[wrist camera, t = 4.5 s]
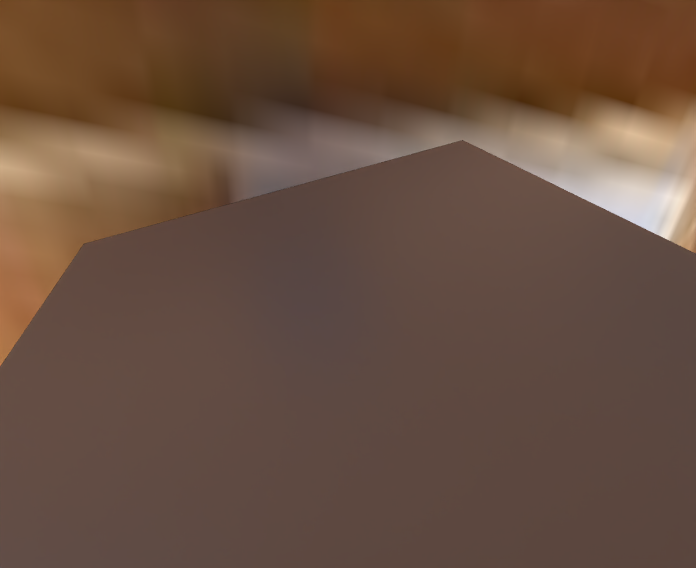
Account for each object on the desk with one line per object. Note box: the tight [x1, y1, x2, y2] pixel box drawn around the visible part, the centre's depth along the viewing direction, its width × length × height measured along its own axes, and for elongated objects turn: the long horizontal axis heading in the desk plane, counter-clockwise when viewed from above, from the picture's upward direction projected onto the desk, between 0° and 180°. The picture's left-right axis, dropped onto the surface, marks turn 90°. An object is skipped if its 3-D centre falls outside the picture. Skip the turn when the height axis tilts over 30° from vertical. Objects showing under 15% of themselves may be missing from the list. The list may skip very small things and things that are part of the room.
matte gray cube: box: [0, 140, 696, 568], centre depth 7 cm, size 8×8×9 cm
